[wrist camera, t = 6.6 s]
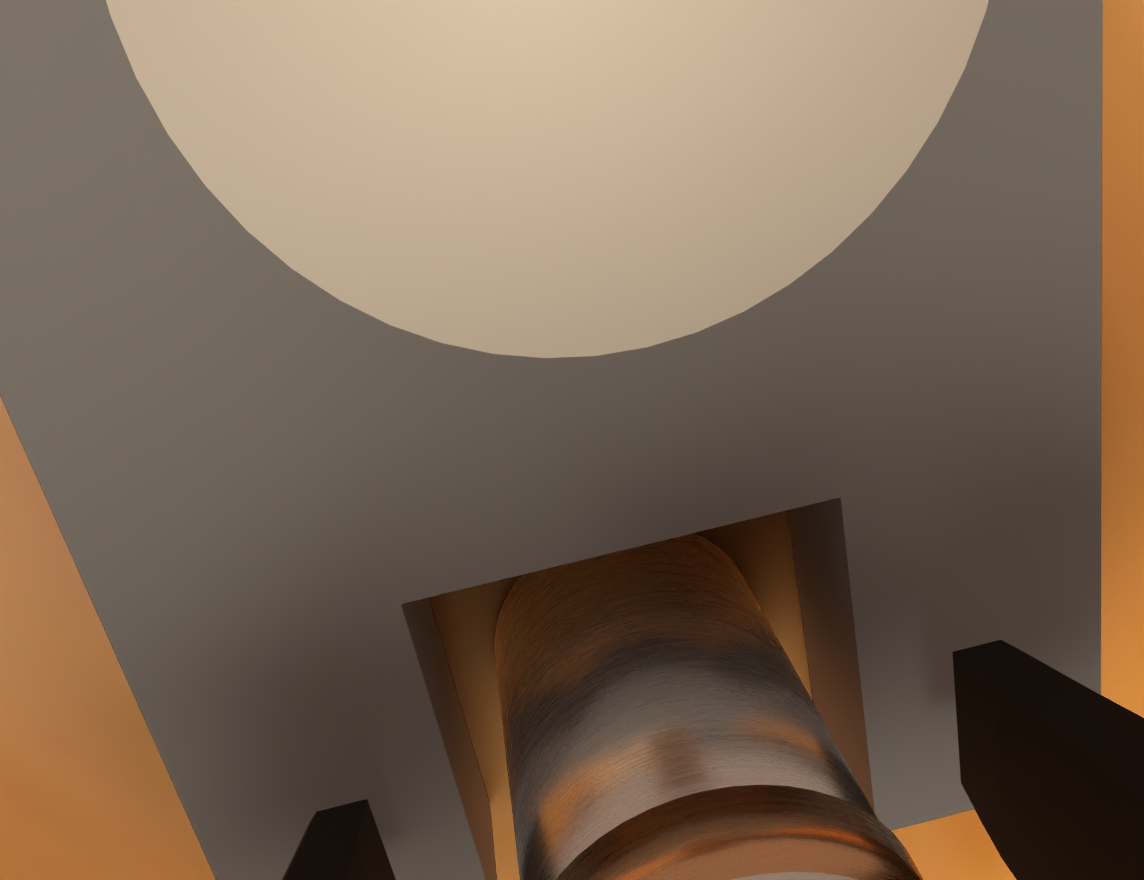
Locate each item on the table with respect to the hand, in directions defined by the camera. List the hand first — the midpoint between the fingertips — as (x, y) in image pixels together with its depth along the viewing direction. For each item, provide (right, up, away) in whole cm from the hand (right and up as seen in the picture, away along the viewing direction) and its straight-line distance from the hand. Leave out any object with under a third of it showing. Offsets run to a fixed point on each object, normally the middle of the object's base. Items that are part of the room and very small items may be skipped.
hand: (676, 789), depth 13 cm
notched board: (-1, +6, +1) cm, 6 cm away
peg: (0, +1, +3) cm, 4 cm away
